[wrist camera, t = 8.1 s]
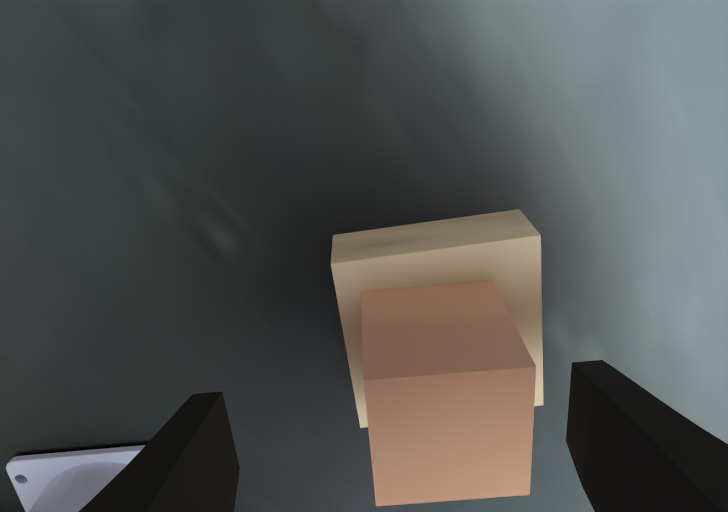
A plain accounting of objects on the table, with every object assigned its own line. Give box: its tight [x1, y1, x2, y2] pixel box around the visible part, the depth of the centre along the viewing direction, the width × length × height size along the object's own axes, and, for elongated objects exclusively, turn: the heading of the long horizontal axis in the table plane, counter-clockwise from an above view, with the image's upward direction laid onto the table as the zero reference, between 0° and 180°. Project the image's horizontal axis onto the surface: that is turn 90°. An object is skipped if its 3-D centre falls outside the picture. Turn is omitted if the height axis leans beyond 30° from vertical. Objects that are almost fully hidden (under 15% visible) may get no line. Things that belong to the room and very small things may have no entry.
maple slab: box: [331, 209, 543, 428], centre depth 22 cm, size 7×7×3 cm
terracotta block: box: [361, 281, 536, 506], centre depth 18 cm, size 4×4×5 cm
